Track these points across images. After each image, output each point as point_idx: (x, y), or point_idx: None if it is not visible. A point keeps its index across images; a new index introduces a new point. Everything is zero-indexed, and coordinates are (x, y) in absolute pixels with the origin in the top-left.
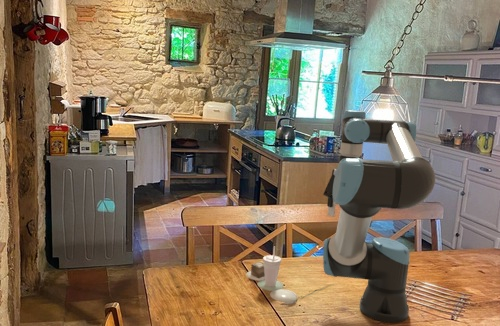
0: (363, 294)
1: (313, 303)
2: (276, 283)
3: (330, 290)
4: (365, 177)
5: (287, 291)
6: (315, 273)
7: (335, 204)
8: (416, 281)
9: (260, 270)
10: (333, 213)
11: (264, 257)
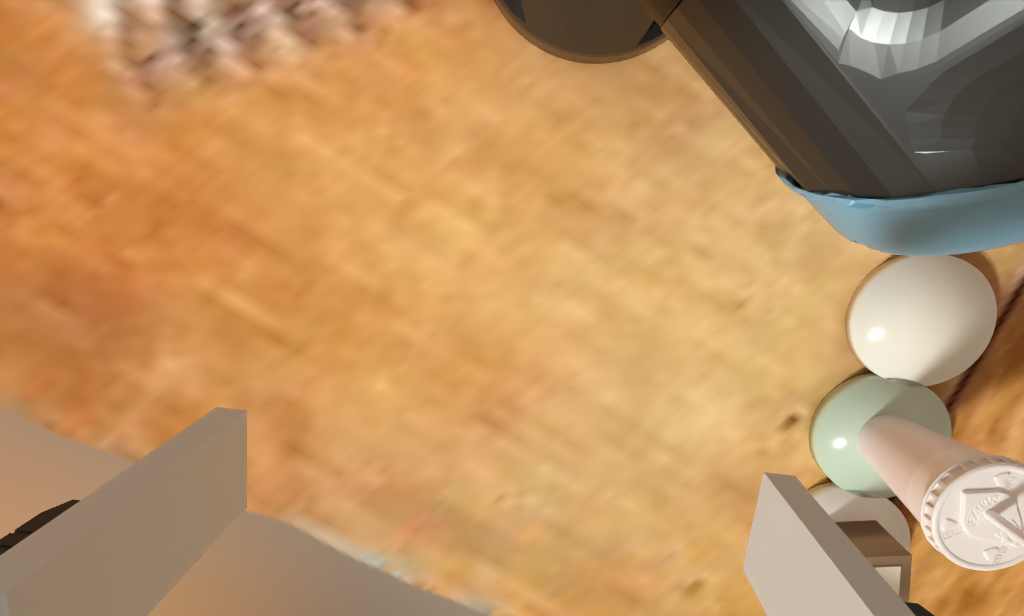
0: (646, 31)
1: None
2: (848, 433)
3: (643, 251)
4: None
5: (874, 340)
6: (552, 426)
7: (863, 603)
8: (136, 58)
9: (888, 544)
10: (812, 503)
11: (1016, 556)
